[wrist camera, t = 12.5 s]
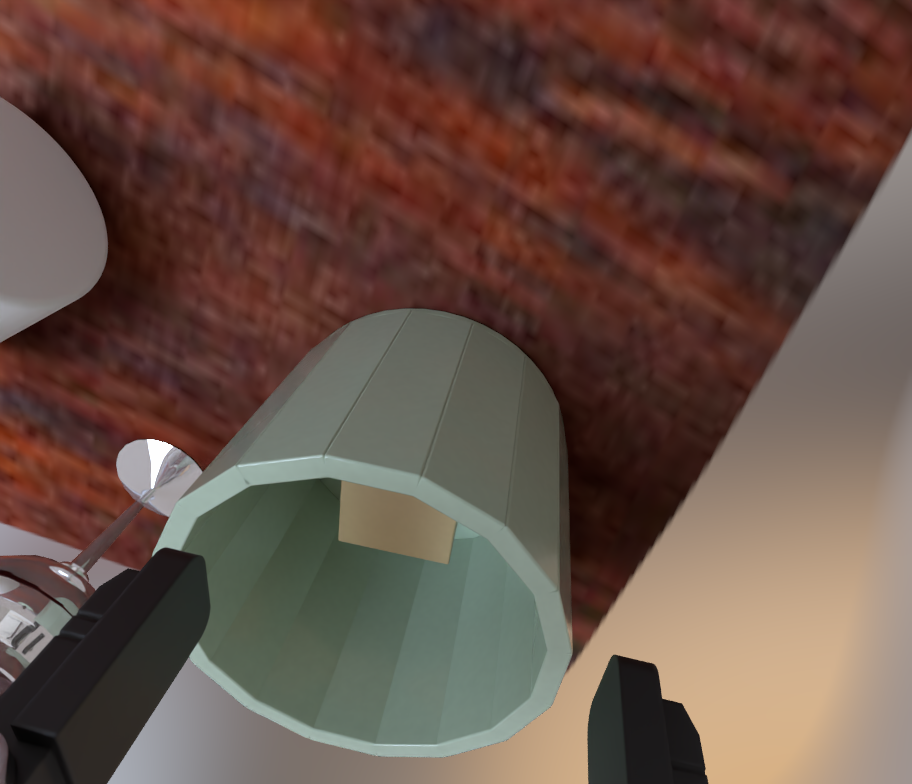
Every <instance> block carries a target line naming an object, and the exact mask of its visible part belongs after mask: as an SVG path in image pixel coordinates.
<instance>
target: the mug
mask: <svg viewBox="0 0 912 784" xmlns="http://www.w3.org/2000/svg"><path fill="white" fill-rule="evenodd" d="M107 254H108V237H107V230H106V225H105V221H104V218H103V214H102V211H101V209H100V206H99V204H98V201H97V199H96V197H95V195H94V193H93V191H92V189H91V188H90V186H89V184H88V182H87V181H86V179H85V177H84V176H83V174H82V173H81V171H80V170H79V169H78V167H77V166H76V164H75V163H74V162H73V161H72V159H71V158H70V157H69V156H68V154H67V153H66V152H65V151H64V150H63V149H62V148H61V146H60V145H59V144H58V143H57V142H56V141H55V140H54V139H53V138H52V137H51V136H50V135H49V134H48V133H47V132H46V131H45V130H44V129H42V128H41V127H40V126H39V125H38V124H37V123H36V122H34V121H33V120H32V119H31V118H29V117H28V116H27V115H26V114H24V113H23V112H22V111H20V110H19V109H18V108H16V107H15V106H14V105H12V104H11V103H9V102H8V101H6V100H5V99H3V98H1V97H0V342H2V341H4V340H6V339H8V338H9V337H11V336H13V335H15V334H17V333H18V332H20V331H22V330H24V329H26V328H27V327H29V326H31V325H33V324H35V323H36V322H38V321H40V320H42V319H44V318H45V317H47V316H49V315H51V314H53V313H54V312H56V311H58V310H60V309H62V308H63V307H65V306H67V305H69V304H71V303H72V302H74V301H76V300H78V299H79V298H81V297H82V296H84V295H85V294H86V293H88V292H89V291H90V290H91V289H92V288H93V287H94V285H95V284H96V283H97V282H98V280H99V278H100V277H101V275H102V272H103V270H104V267H105V264H106V260H107Z"/></svg>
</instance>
